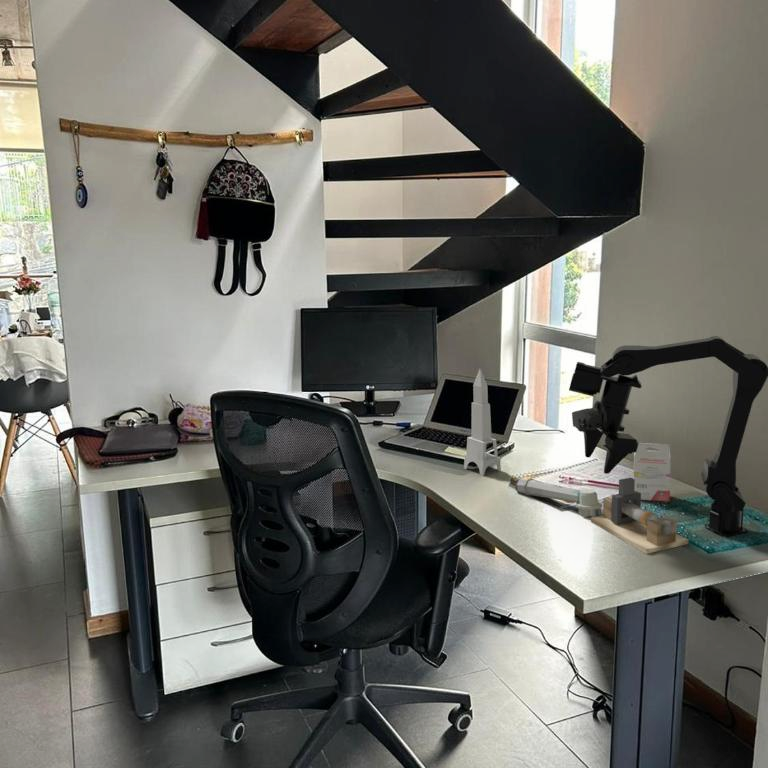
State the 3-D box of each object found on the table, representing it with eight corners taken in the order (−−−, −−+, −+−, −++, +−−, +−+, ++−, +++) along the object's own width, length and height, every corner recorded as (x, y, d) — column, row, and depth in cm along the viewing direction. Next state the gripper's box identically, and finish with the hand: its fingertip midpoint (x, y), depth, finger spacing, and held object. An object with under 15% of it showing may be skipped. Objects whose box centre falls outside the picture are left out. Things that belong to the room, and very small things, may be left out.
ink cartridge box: (669, 495, 183) (671, 439, 179) (669, 502, 178) (671, 445, 175) (633, 492, 186) (635, 437, 183) (632, 499, 181) (634, 442, 178)
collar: (634, 516, 167) (635, 476, 165) (640, 519, 165) (641, 478, 163) (611, 521, 165) (612, 480, 163) (617, 524, 163) (617, 483, 161)
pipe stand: (629, 513, 172) (630, 489, 171) (688, 543, 155) (689, 517, 154) (590, 521, 169) (591, 497, 168) (646, 553, 151) (647, 526, 150)
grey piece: (526, 475, 192) (605, 486, 171) (528, 499, 192) (607, 513, 172) (512, 479, 188) (591, 491, 168) (515, 504, 189) (594, 519, 169)
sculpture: (482, 475, 204) (480, 371, 197) (463, 468, 210) (461, 367, 204) (500, 470, 207) (499, 367, 201) (482, 463, 214) (480, 364, 208)
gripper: (563, 384, 169) (548, 446, 174) (601, 411, 152) (583, 479, 156) (606, 389, 172) (590, 450, 176) (648, 417, 154) (628, 483, 159)
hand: (596, 464), depth 167 cm, fingers open, 9 cm apart
